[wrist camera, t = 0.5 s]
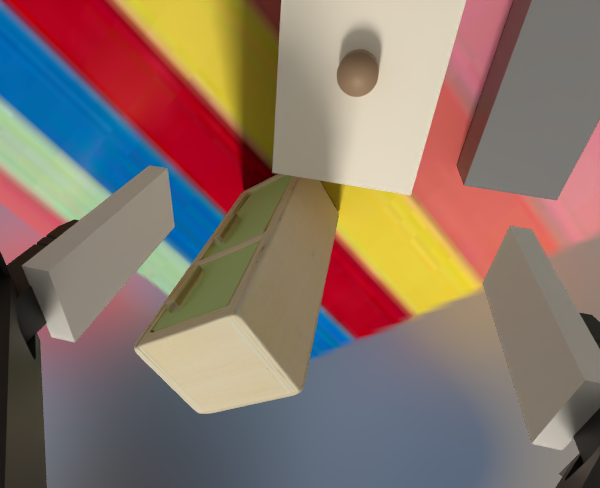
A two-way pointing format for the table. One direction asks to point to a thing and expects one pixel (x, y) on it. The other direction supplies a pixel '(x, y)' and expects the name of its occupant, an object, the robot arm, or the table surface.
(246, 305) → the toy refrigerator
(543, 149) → the block
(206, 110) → the table surface
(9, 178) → the table surface
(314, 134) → the lid
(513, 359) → the robot arm
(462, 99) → the table surface
